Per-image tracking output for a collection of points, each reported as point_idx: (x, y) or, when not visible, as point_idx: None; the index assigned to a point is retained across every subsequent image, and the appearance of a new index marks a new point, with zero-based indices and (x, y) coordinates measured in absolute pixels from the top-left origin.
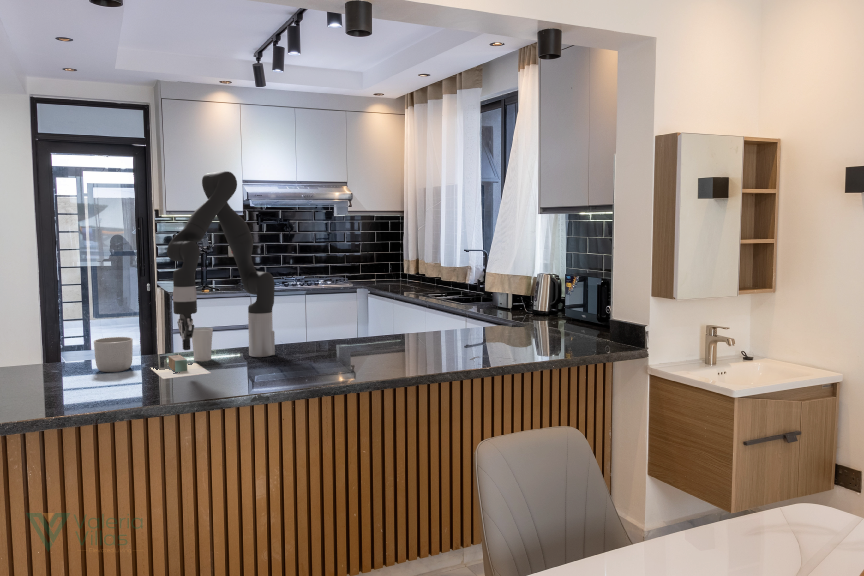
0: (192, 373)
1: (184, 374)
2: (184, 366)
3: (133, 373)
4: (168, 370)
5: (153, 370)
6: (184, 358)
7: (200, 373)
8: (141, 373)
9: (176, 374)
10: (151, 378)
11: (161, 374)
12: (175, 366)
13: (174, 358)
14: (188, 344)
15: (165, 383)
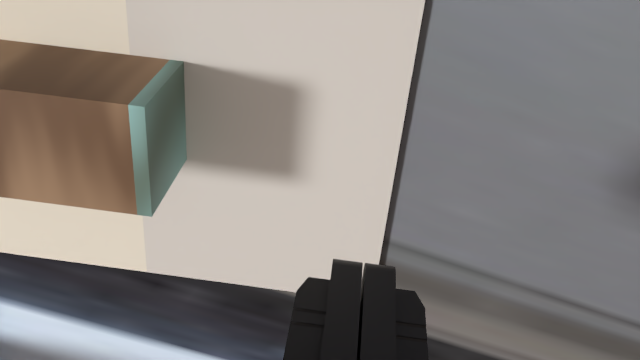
0: (332, 68)
1: (327, 138)
2: (171, 104)
3: (63, 355)
4: None
5: (38, 254)
6: (65, 104)
7: (383, 7)
8: (86, 325)
9: (285, 185)
10: (287, 334)
11: (217, 262)
12: (170, 185)
13: (20, 180)
14: (425, 352)
15: (511, 327)
